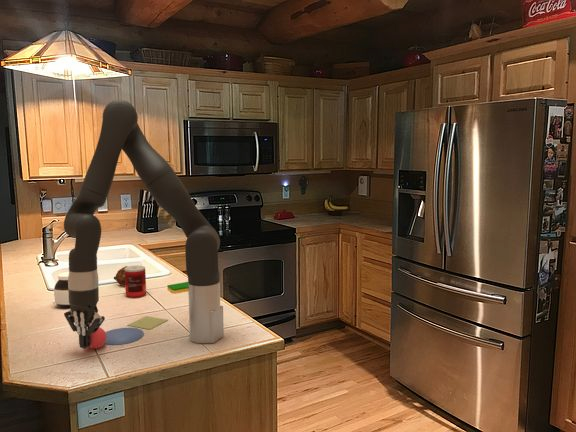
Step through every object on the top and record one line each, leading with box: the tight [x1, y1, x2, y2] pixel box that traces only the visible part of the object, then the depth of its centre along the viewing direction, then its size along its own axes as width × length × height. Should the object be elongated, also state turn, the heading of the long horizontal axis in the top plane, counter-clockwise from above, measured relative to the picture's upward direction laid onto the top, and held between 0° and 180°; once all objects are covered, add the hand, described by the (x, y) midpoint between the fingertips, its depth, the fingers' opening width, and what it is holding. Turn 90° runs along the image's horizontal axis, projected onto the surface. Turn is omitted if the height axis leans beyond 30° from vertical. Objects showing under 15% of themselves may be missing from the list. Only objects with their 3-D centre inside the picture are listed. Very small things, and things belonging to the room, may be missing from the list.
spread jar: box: [53, 271, 71, 309], centre depth 170 cm, size 12×11×12 cm
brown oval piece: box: [113, 265, 129, 287], centre depth 195 cm, size 8×8×12 cm
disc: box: [103, 327, 145, 346], centre depth 141 cm, size 13×13×1 cm
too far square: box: [127, 315, 169, 331], centre depth 152 cm, size 9×9×1 cm
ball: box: [88, 326, 106, 350], centre depth 132 cm, size 6×6×6 cm
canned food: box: [124, 264, 147, 299], centre depth 180 cm, size 8×8×11 cm
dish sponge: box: [166, 281, 189, 295], centre depth 190 cm, size 7×14×2 cm, turn 125°
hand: (84, 347), depth 128 cm, fingers closed
